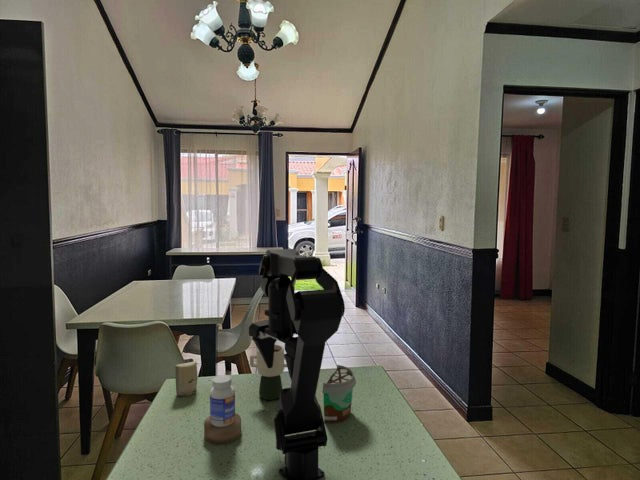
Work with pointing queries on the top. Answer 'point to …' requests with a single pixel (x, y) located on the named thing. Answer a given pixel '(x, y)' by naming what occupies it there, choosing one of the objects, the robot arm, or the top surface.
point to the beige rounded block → (186, 378)
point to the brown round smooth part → (222, 431)
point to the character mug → (270, 373)
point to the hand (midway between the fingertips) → (281, 374)
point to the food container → (338, 395)
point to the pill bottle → (222, 402)
